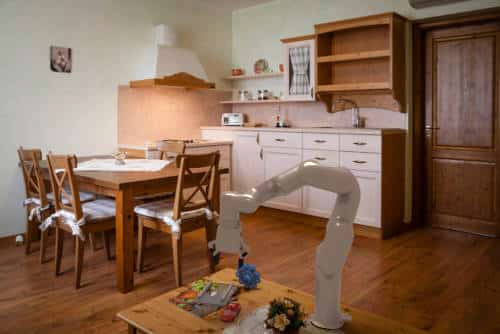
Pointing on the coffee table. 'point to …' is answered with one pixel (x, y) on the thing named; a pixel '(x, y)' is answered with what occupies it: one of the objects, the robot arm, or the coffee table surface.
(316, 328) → the coffee table surface
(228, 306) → the race car
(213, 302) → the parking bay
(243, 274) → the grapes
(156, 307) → the coffee table surface
